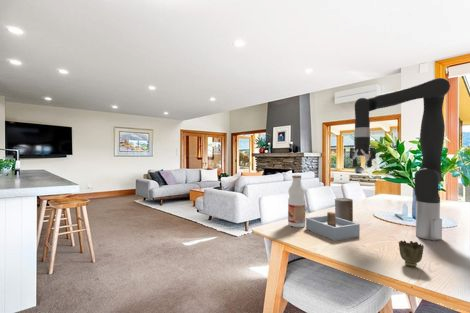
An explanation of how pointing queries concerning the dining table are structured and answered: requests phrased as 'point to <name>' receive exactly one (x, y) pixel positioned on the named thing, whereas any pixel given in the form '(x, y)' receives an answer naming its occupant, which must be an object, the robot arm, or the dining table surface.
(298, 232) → the dining table surface
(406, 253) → the mottled brown rounded lump
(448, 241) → the dining table surface
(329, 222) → the peg
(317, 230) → the box
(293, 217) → the fruit juice
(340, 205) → the pillar candle
